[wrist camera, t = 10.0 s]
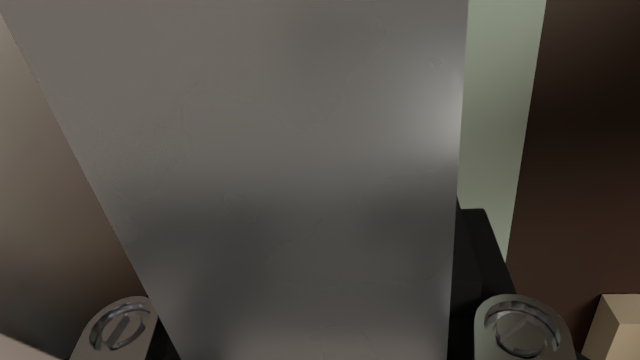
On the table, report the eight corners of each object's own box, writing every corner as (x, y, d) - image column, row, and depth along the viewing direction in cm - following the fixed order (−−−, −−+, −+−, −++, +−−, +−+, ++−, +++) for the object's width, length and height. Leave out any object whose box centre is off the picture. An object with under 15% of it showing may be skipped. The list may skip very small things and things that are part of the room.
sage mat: (633, -672, 5) (661, -737, 5) (479, 396, 18) (482, 410, 17) (-51, -437, 7) (-86, -467, 6) (259, 390, 19) (256, 402, 19)
